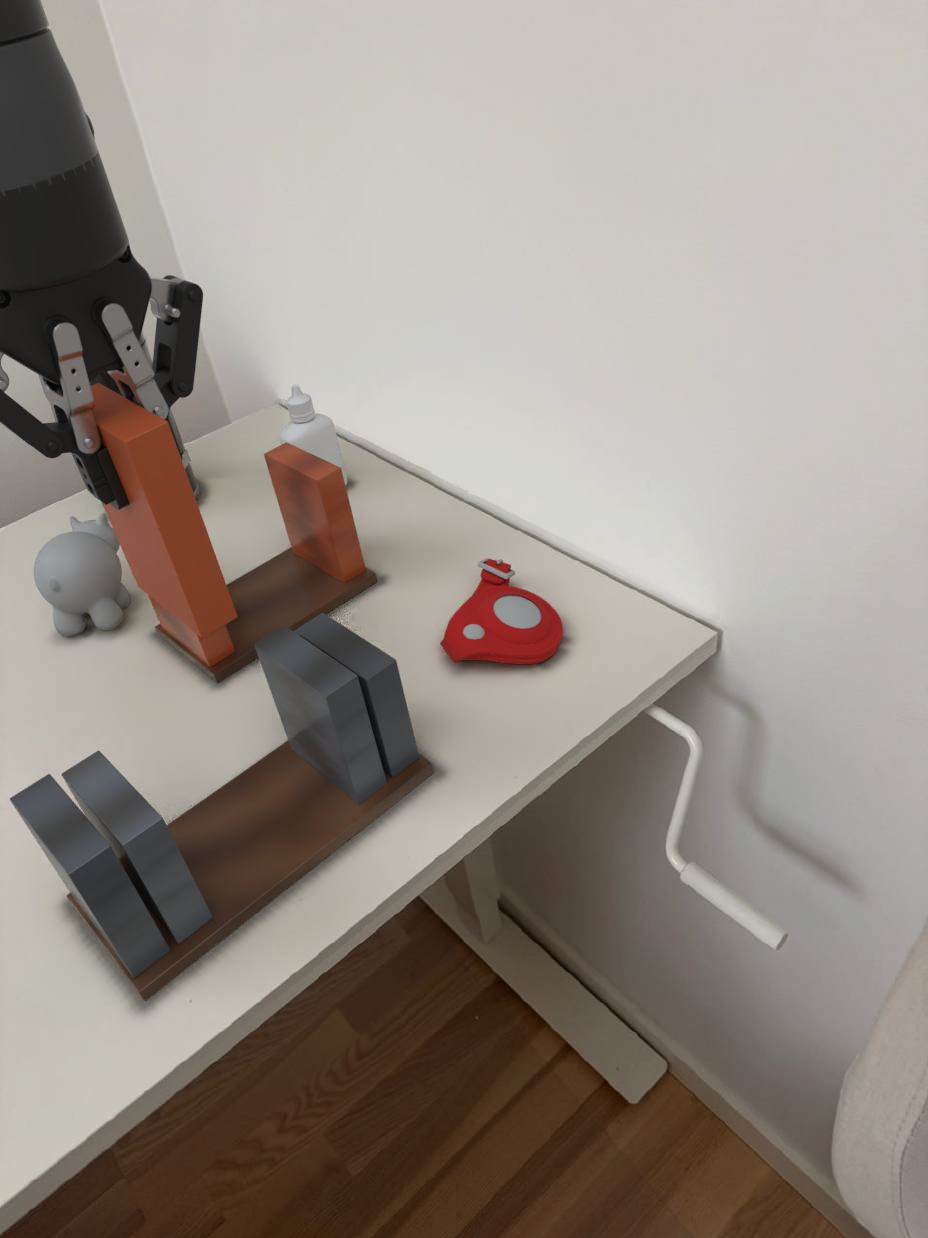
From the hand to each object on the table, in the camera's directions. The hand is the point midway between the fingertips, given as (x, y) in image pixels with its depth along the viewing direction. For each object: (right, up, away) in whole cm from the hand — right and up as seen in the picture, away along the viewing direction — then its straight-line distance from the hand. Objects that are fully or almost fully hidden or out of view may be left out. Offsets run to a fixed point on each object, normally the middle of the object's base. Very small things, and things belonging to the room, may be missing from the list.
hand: (141, 489), depth 53 cm
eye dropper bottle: (+3, +6, +46) cm, 46 cm away
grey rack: (+4, -22, +11) cm, 25 cm away
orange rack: (+1, -6, +31) cm, 32 cm away
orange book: (+1, -6, +5) cm, 8 cm away
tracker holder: (+22, -8, +25) cm, 34 cm away
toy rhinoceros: (-15, -6, +36) cm, 39 cm away
